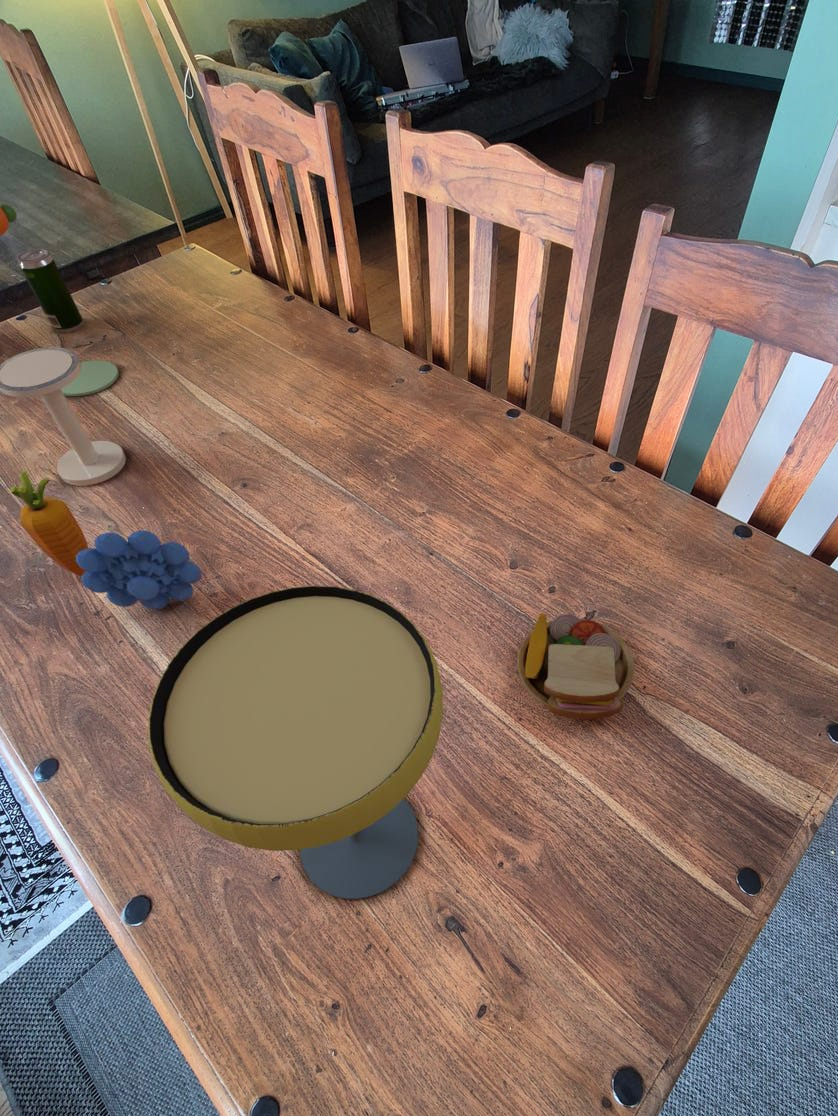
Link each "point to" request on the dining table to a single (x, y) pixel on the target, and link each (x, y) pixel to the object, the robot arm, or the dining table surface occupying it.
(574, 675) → the toy sandwich meal
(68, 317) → the beer can
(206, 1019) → the dining table surface
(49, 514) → the carrot
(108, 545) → the blue knobbed flower
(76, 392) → the mat
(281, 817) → the cocktail glass
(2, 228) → the carrot
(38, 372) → the cake stand
